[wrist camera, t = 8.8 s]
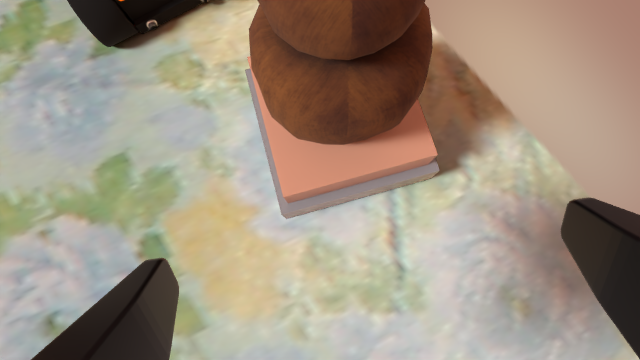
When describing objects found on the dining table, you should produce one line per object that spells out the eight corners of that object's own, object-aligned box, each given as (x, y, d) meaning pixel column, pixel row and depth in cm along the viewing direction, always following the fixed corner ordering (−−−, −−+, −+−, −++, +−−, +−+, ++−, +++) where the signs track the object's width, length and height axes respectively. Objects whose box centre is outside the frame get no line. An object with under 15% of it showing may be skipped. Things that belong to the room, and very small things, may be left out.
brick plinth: (430, 178, 22) (450, 161, 19) (286, 218, 22) (276, 209, 18) (385, 49, 24) (395, 8, 20) (252, 85, 24) (236, 51, 20)
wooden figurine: (395, 48, 20) (561, -538, 5) (412, 151, 19) (689, -242, 4) (270, 62, 20) (94, -473, 5) (278, 166, 19) (78, -166, 4)
